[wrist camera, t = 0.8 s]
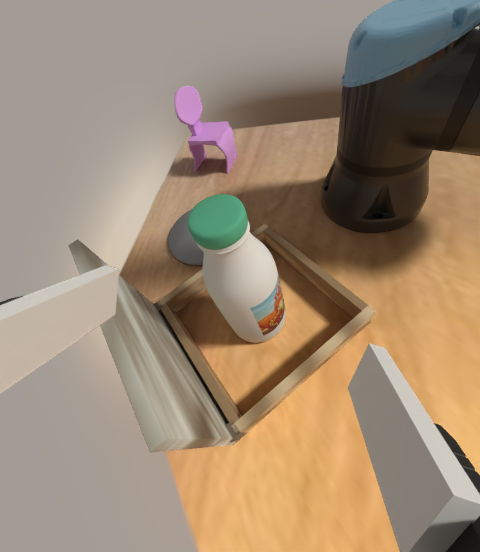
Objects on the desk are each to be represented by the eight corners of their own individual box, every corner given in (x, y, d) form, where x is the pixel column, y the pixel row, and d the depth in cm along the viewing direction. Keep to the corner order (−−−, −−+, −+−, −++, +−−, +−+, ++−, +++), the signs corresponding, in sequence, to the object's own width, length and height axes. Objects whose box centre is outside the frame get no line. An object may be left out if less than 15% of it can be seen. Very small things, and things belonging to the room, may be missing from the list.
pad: (216, 195, 51) (215, 192, 51) (260, 231, 44) (259, 228, 43) (158, 235, 49) (156, 232, 48) (193, 280, 41) (191, 278, 41)
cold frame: (267, 237, 43) (245, 131, 28) (369, 322, 32) (422, 222, 17) (159, 318, 39) (68, 245, 24) (233, 444, 28) (150, 452, 13)
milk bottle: (247, 355, 33) (186, 274, 17) (222, 309, 37) (154, 209, 21) (297, 324, 34) (286, 217, 17) (267, 283, 38) (235, 165, 22)
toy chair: (227, 177, 54) (203, 99, 42) (192, 175, 57) (160, 102, 45) (241, 152, 58) (222, 74, 45) (207, 152, 61) (181, 79, 48)
